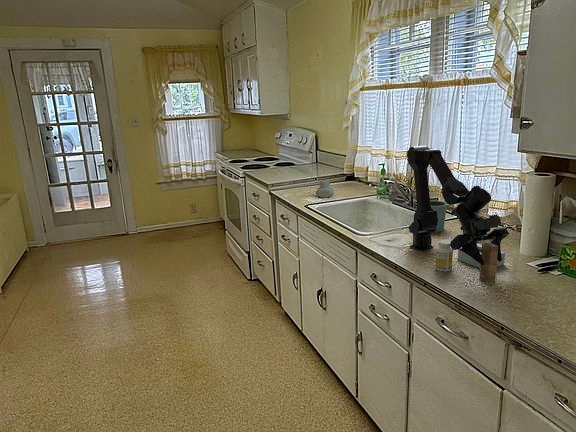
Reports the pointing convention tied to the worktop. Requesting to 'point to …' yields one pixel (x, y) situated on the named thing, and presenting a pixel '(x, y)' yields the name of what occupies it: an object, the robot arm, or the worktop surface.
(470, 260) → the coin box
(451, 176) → the robot arm
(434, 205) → the blue-grey round container
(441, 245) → the supplement bottle
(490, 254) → the wooden block
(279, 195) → the worktop surface
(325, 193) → the air freshener
